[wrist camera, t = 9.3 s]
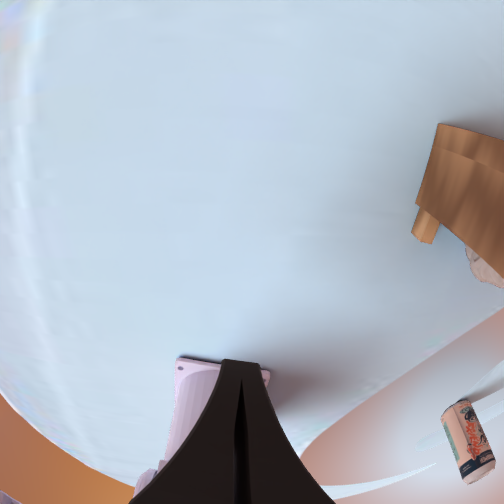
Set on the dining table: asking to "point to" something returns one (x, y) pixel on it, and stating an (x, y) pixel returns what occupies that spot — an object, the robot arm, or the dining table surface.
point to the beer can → (468, 441)
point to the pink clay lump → (483, 269)
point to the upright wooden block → (465, 192)
